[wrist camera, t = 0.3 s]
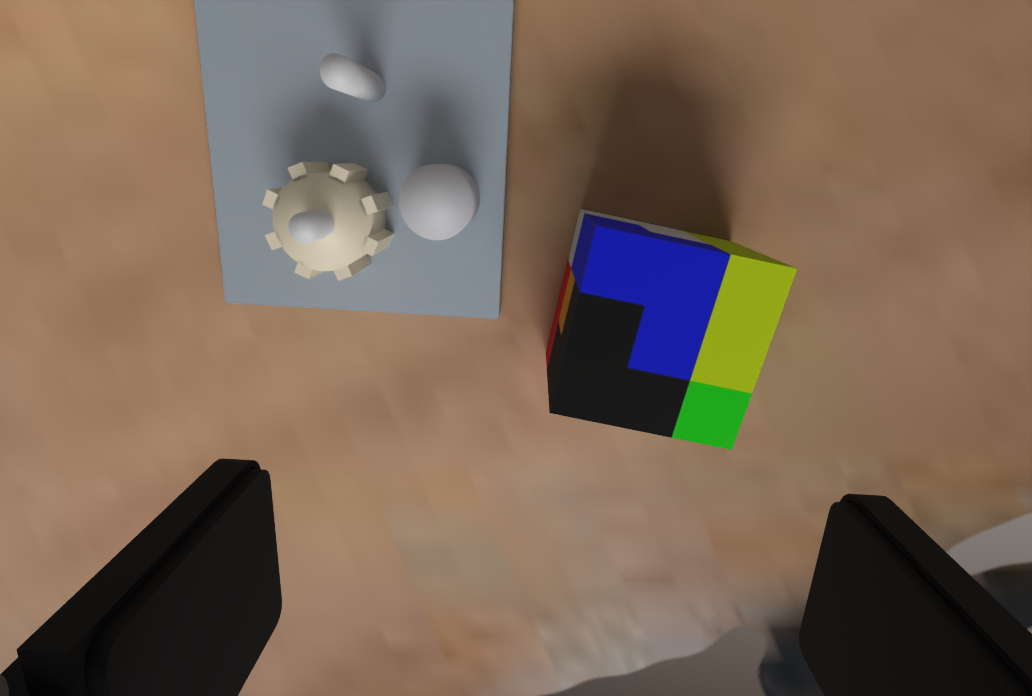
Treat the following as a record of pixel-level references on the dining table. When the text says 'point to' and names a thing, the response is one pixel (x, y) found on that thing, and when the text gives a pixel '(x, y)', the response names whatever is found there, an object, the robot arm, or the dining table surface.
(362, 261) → the gear board
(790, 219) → the dining table surface
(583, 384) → the puzzle toy
